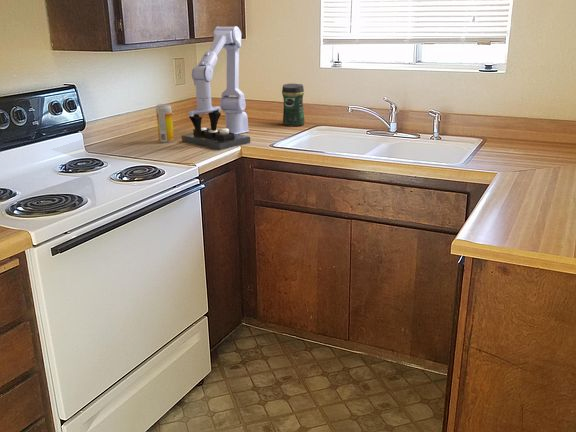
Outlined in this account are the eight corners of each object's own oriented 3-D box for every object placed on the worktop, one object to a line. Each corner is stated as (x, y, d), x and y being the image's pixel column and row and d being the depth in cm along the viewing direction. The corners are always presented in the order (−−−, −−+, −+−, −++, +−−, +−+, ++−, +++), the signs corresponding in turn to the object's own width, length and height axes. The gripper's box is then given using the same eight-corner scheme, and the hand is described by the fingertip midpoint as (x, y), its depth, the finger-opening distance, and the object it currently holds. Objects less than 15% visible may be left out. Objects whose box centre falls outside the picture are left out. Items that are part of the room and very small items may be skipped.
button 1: (203, 131, 242) (203, 127, 242) (208, 133, 240) (208, 128, 239) (196, 133, 240) (196, 128, 239) (201, 134, 237) (201, 129, 237)
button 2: (214, 133, 238) (213, 129, 237) (219, 135, 235) (219, 130, 235) (207, 135, 235) (206, 130, 235) (212, 136, 233) (212, 131, 232)
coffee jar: (306, 123, 269) (306, 83, 263) (299, 127, 262) (298, 85, 256) (288, 122, 273) (287, 82, 267) (280, 125, 267) (279, 84, 260)
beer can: (176, 139, 243) (172, 103, 237) (171, 143, 237) (168, 106, 232) (161, 139, 243) (158, 103, 238) (157, 143, 238) (153, 106, 232)
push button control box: (208, 134, 252) (208, 123, 250) (250, 142, 234) (249, 131, 233) (178, 140, 241) (177, 129, 240) (219, 150, 224) (218, 138, 222)
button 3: (225, 132, 233) (224, 128, 232) (230, 134, 230) (230, 129, 230) (218, 134, 230) (217, 129, 229) (223, 135, 228) (223, 130, 227)
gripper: (211, 94, 235) (214, 127, 240) (182, 98, 225) (185, 133, 230) (223, 95, 230) (225, 129, 235) (193, 100, 221) (196, 135, 225)
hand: (206, 131), depth 232 cm, fingers open, 7 cm apart
